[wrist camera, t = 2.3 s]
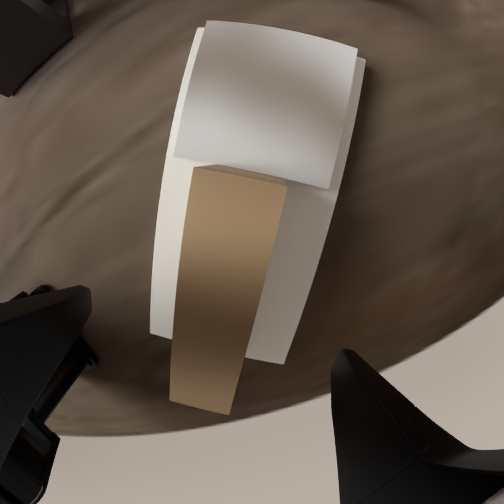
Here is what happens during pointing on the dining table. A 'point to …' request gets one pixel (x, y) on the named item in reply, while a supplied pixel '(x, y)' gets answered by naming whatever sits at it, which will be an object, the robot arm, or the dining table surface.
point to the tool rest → (285, 246)
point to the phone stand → (29, 37)
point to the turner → (245, 185)
